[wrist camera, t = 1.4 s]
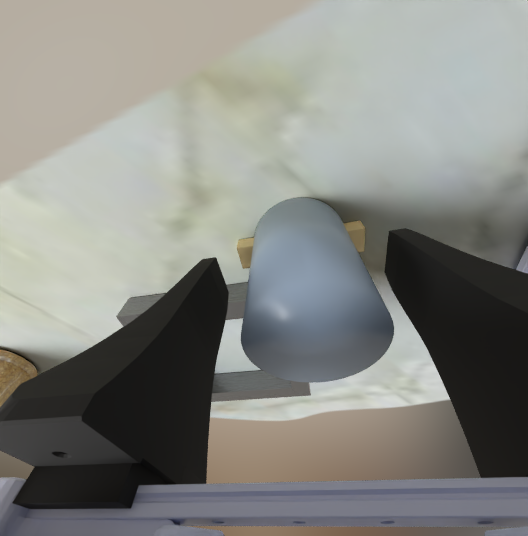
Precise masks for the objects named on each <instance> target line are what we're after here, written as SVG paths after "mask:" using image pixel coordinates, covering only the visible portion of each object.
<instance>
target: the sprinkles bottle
mask: <svg viewBox="0 0 528 536" xmlns="http://www.w3.org/2000/svg"><path fill="white" fill-rule="evenodd" d="M36 376H38V374H37V370H36V368H35V367H34V366H33V364H31V363H30V362H29V361H27V360H25V359H24V358H23V357H21V356H18V355H16V354H14V353H11V352H8V351H5V350H1V349H0V407H1V406H2V405H3V403H4V402H5V401H6V400H7V399H8V398H9V396H10V395H11V394H12V393H13V392H14V391H15V389H16V388H17V387H18V386H19V385H20V384H21V383H23V382H25V381H27V380H29V379H32V378H34V377H36Z"/></svg>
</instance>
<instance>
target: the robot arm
mask: <svg viewBox="0 0 528 536" xmlns="http://www.w3.org/2000/svg"><path fill="white" fill-rule="evenodd" d="M385 274H386V276H387V279H388V281H389V284H390V286H391V288H392V291H393V293H394V294H395V296H396V298H397V299H398V301H399V303H400V304H401V306H402V308H403V309H404V311H405V312H406V314H407V316H408V317H409V319H410V320H411V322H412V324H413V325H414V327H415V329H416V330H417V332H418V333H419V335H420V337H421V338H422V340H423V342H424V344H425V345H426V347H427V349H428V351H429V353H430V356H431V358H432V360H433V362H434V364H435V366H436V368H437V370H438V372H439V375H440V377H441V379H442V381H443V384H444V386H445V388H446V390H447V393H448V395H449V397H450V399H451V402H452V404H453V406H454V409H455V412H456V414H457V416H458V419H459V421H460V424H461V426H462V428H463V431H464V434H465V436H466V439H467V441H468V444H469V446H470V449H471V452H472V455H473V457H474V460H475V463H476V465H477V468H478V471H479V474H480V476H481V478H459V479H412V480H367V481H366V480H365V481H318V482H273V483H272V482H271V483H226V484H225V483H224V484H206V473H207V452H208V435H209V421H210V409H211V399H212V389H213V380H214V372H215V365H216V360H217V355H218V350H219V346H220V342H221V337H222V333H223V329H224V324H225V320H226V315H227V309H228V297H229V291H228V289H227V286H226V283H225V281H224V278H223V275H222V272H221V270H220V267H219V264H218V262H217V259H216V257H215V258H208V259H203V260H201V261H200V262H199V263H198V264H197V265H196V266H194V267H193V268H192V269H191V270H190V271H189V272H188V273H187V274H186V275H185V276H184V277H183V278H182V279H181V280H180V281H179V282H178V283H177V284H176V285H175V286H174V287H173V288H172V289H171V290H169V291H168V292H167V293H166V294H165V295H164V296H163V297H162V298H160V299H159V300H158V301H157V302H156V303H155V304H154V305H152V306H151V307H150V308H149V309H147V310H146V311H145V312H144V313H142V314H141V315H140V316H138V317H137V318H136V319H134V320H133V321H131V322H130V323H129V324H127V325H126V326H124V327H123V328H121V329H120V330H118V331H117V332H115V333H113V334H112V335H110V336H109V337H107V338H106V339H104V340H103V341H101V342H99V343H98V344H96V345H94V346H93V347H91V348H89V349H88V350H86V351H84V352H82V353H80V354H79V355H77V356H75V357H73V358H71V359H69V360H68V361H66V362H64V363H62V364H60V365H58V366H56V367H54V368H52V369H50V370H48V371H46V372H44V373H42V374H40V375H38V376H36V377H34V378H32V379H29V380H27V381H25V382H23V383H21V384H20V385H19V386H18V387H17V388H16V389H15V391H14V392H13V393H12V394H11V395H10V396H9V398H8V399H7V400H6V401H5V402H4V403H3V405H2V406H1V407H0V451H2V452H4V453H7V454H9V455H11V456H13V457H15V458H17V459H20V460H21V461H24V462H26V463H28V464H30V465H32V466H34V467H35V468H34V469H33V471H32V472H31V474H30V476H29V477H28V479H27V480H26V479H21V478H13V477H8V478H0V536H224V534H223V532H222V531H219V530H211V529H202V528H194V527H186V526H392V527H395V526H396V527H398V526H399V527H400V526H402V527H405V526H406V527H412V526H413V527H415V526H416V527H417V526H419V527H428V526H429V527H516V528H507V529H498V530H489V531H485V534H484V536H528V246H527V248H526V250H525V252H524V254H523V256H522V258H521V260H520V262H519V264H518V266H517V268H516V270H514V269H511V268H507V267H504V266H501V265H498V264H495V263H492V262H489V261H486V260H484V259H481V258H478V257H475V256H473V255H470V254H467V253H465V252H462V251H460V250H457V249H455V248H452V247H450V246H448V245H445V244H443V243H440V242H438V241H436V240H433V239H431V238H429V237H426V236H424V235H422V234H419V233H417V232H414V231H412V230H409V229H406V228H405V229H398V230H392V231H389V236H388V245H387V255H386V264H385Z"/></svg>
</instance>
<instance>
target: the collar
mask: <svg viewBox="0 0 528 536" xmlns="http://www.w3.org/2000/svg"><path fill="white" fill-rule="evenodd" d="M226 286H227V289H228V291H229V297H228V309H227V315H226V320H231V319H240V318H243V317H244V309H245V302H246V295H247V287H248V283H240V284H232V285H226ZM165 294H166V293H165ZM165 294H157V295H150V296H142V297H134V298H129V299H128V301H127V302H126V304H125V305H124V306H123V308H122V309H121V311H120V312H119V314H118V315H117V316H116V317H117V318H118V320H119V321H120V322H121V324H122V325H123V326H126V325H127V324H129V323H130V322H131V321H133V320H134V319H136V318H137V317H138V316H140V315H141V314H142V313H144V312H145V311H146V310H147V309H149V308H150V307H151V306H152V305H154V304H155V303H156V302H157V301H158V300H159V299H160V298H162V297H163V296H164V295H165ZM308 395H311V394H310V385H309V382H296V381H290V380H286V379H282V378H278V377H276V376H273V375H271V374H268V373H266V372H265V371H263V370H262V371H250V372H237V373H225V374H214V380H213V389H212V399H211V402H215V401H231V400H246V399H262V398H277V397H292V396H308Z"/></svg>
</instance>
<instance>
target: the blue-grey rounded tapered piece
mask: <svg viewBox="0 0 528 536" xmlns="http://www.w3.org/2000/svg"><path fill="white" fill-rule="evenodd" d="M364 246H365V227H364V226H363V224H362V223H361V221H354V222H348V223H343V222H342V220H341V218H340V217H339V215H338V214H337V213H336V211H335V210H334V209H333V208H331V207H330V206H329V205H327V204H326V203H324V202H321V201H319V200H316V199H312V198H293V199H289V200H285V201H283V202H280V203H278V204H276V205H275V206H273V207H272V208H270V209H269V210H268V211H267V212H266V213H265V214H264V215H263V217H262V218H261V219H260V221H259V223H258V225H257V227H256V230H255V236H254V237H253V238H247V239H240V240H239V241H238V245H237V250H238V254H239V257H240V260H241V264H242V267H243V269H244V268H250V272H249V280H248V287H247V295H246V302H245V309H244V317H243V324H242V332H241V344H242V347H243V350H244V352H245V354H246V355H247V357H248V358H249V360H250V361H251V362H252V363H253V364H254V365H256V366H257V367H258V368H260V369H261V370H263V371H265V372H266V373H268V374H271V375H273V376H276V377H278V378H282V379H286V380H290V381H296V382H326V381H333V380H338V379H342V378H345V377H348V376H351V375H354V374H356V373H359V372H361V371H363V370H365V369H366V368H368V367H370V366H371V365H373V364H374V363H375V362H376V361H378V360H379V359H380V358H381V357H382V356H383V355H384V354H385V352H386V351H387V349H388V348H389V346H390V344H391V342H392V339H393V335H394V325H393V321H392V318H391V316H390V313H389V312H388V310H387V308H386V306H385V304H384V302H383V300H382V298H381V296H380V294H379V292H378V290H377V288H376V286H375V284H374V282H373V280H372V278H371V277H370V275H369V273H368V271H367V269H366V267H365V265H364V263H363V261H362V259H361V257H360V255H359V253H358V252H364Z"/></svg>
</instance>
